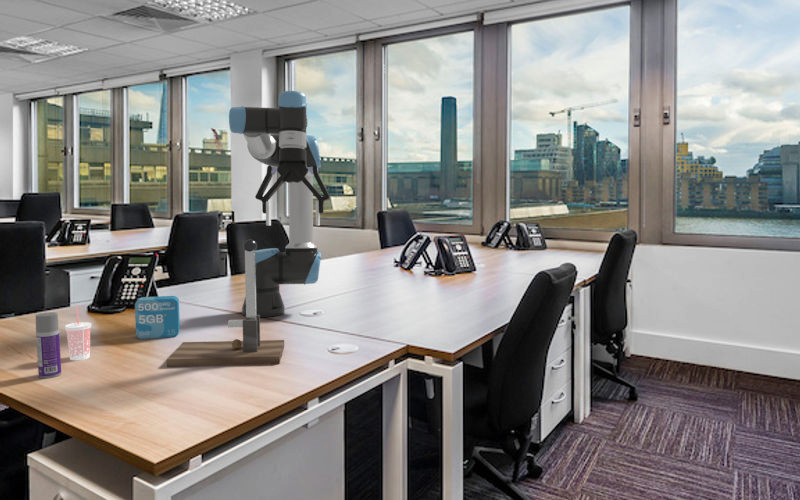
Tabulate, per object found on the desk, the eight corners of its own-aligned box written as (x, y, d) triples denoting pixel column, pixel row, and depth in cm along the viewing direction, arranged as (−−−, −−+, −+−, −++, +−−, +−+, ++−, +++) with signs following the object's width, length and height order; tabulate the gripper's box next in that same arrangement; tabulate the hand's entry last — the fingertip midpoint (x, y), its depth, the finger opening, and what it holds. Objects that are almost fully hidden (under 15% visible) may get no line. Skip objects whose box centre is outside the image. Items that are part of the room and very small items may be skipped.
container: (65, 372, 139) (62, 312, 137) (54, 378, 134) (50, 316, 132) (46, 372, 138) (42, 312, 137) (34, 378, 134) (30, 316, 132)
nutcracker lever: (229, 327, 154) (227, 238, 151) (259, 326, 155) (257, 238, 152) (227, 330, 150) (225, 240, 148) (257, 329, 151) (255, 239, 149)
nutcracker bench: (183, 349, 159) (182, 312, 158) (284, 346, 162) (283, 310, 161) (167, 366, 143) (165, 326, 142) (279, 363, 147) (278, 324, 146)
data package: (136, 339, 169) (134, 300, 167) (138, 335, 173) (136, 297, 172) (179, 336, 172) (177, 298, 171) (180, 333, 176) (178, 295, 175)
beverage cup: (87, 353, 154) (84, 302, 153) (97, 357, 150) (94, 305, 149) (62, 358, 150) (59, 306, 148) (72, 362, 146) (69, 309, 144)
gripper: (244, 146, 152) (244, 225, 152) (336, 146, 153) (336, 224, 153) (250, 151, 160) (251, 226, 160) (339, 151, 160) (339, 225, 160)
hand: (293, 225), depth 156 cm, fingers open, 13 cm apart
